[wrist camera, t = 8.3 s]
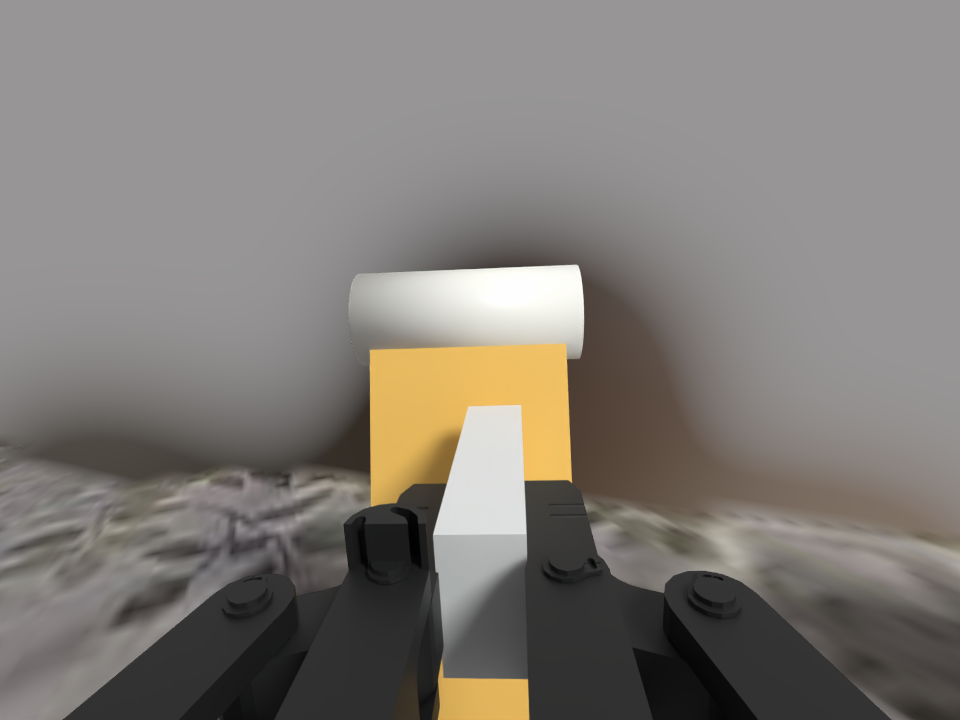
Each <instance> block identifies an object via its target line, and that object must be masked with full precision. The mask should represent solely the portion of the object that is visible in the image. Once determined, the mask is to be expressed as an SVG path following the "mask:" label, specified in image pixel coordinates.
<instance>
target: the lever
mask: <svg viewBox="0 0 960 720" xmlns="http://www.w3.org/2000/svg"><path fill="white" fill-rule="evenodd" d="M349 327H350V335H351V341H352V345H353V349H354V352H355V355H356V357H357V359H358V361H359V362H360V364H362V365H370V420H371V421H370V425H371V427H370V428H371V507H373V506H376V505H381V504H390V503H397V500H398V498H399V496H400V494H402V493H403V492H404V491H405V490H407V489H408V488H409V487H410V486H412V485H413V484H440V483H447V482H448V479H449V475H450V471H451V468H452V464H453V461H454V457H455V453H456V450H457V446H458V442H459V439H460V435H461V432H462V428H463V424H464V421H465V417H466V413H467V410H468V406H500V405H521V416H522V439H523V462H524V481H533V480H569V481H570V482H571V483H572V476H571V452H570V428H569V405H568V404H569V403H568V381H567V359H579V358H580V356H581V352H582V345H583V333H584V303H583V289H582V280H581V274H580V270H579V267H578V266H577V265H562V266H539V267H515V268H491V269H468V270H467V269H465V270H442V271H417V272H395V273H394V272H393V273H371V274H357V275H356V276H355V278H354V280H353V282H352V285H351V290H350V297H349ZM438 685H439V699H440V709H439V715H438V720H529V697H528V679H471V678H444V677H443V664H442V660H441V665H440V671H439V677H438Z"/></svg>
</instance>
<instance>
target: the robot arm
mask: <svg viewBox="0 0 960 720" xmlns="http://www.w3.org/2000/svg"><path fill="white" fill-rule="evenodd" d="M344 533H345V542H346V550H347V559H348V567H349V571H348V573H347V575H346V577H345V579H344V581H343V583H342V585H339V586H337V587H334V588H330V589H327V590H323V591H319V592H314V593H309V594H305V595H300V596H296V591H295V586H294V584H293V583H292V582H291V580H290V579H289V578H287V577H284V576H282V575H279V574H257V575H254V576H253V575H252V576H248V577H244V578H242V579H240V580H238V581H235V582H233V583H230V584H228V585H227V586H225V587H224V588H222V589H221V590H219V591H218V592H216V593H215V594H213V595H212V596H211V597H210V598H208V599H207V600H206V601H205V602H204V603H202V604H201V605H200V606H199V607H198V608H196V609H195V610H194V611H193V612H192V613H190V614H189V615H188V616H187V617H186V618H184V619H183V620H182V621H181V622H180V623H178V624H177V625H176V626H175V627H174V628H172V629H171V630H170V631H169V632H168V633H166V634H165V635H164V636H163V637H162V638H160V639H159V640H158V641H157V642H156V643H154V644H153V645H152V646H151V647H150V648H148V649H147V650H146V651H145V652H144V653H142V654H141V655H140V656H139V657H138V658H136V659H135V660H134V661H133V662H132V663H130V664H129V665H128V666H127V667H126V668H124V669H123V670H122V671H121V672H120V673H118V674H117V675H116V676H115V677H114V678H112V679H111V680H110V681H109V682H108V683H106V684H105V685H104V686H103V687H102V688H100V689H99V690H98V691H97V692H96V693H94V694H93V695H92V696H91V697H90V698H88V699H87V700H86V701H85V702H84V703H82V704H81V705H80V706H79V707H78V708H76V709H75V710H74V711H73V712H72V713H70V714H69V715H68V716H67V717H66V718H64V719H63V720H218V718H219V720H438V715H439V709H440V699H439V685H438V677H439V671H440V665H441V660H442V664H443V677H444V678H471V679H528V697H529V720H891V719H890V718H889V717H888V716H887V715H886V714H885V713H884V712H883V711H882V710H880V709H879V708H878V707H877V706H876V705H875V704H874V703H873V702H872V701H871V700H870V699H869V698H868V697H867V696H866V695H864V694H863V693H862V692H861V691H860V690H859V689H858V688H857V687H856V686H855V685H854V684H853V683H852V682H851V681H850V680H848V679H847V678H846V677H845V676H844V675H843V674H842V673H841V672H840V671H839V670H838V669H837V668H836V667H835V666H834V665H832V664H831V663H830V662H829V661H828V660H827V659H826V658H825V657H824V656H823V655H822V654H821V653H820V652H819V651H818V650H816V649H815V648H814V647H813V646H812V645H811V644H810V643H809V642H808V641H807V640H806V639H805V638H804V637H803V636H802V635H801V634H799V633H798V632H797V631H796V630H795V629H794V628H793V627H792V626H791V625H790V624H789V623H788V622H787V621H786V620H785V619H783V618H782V617H781V616H780V615H779V614H778V613H777V612H776V611H775V610H774V609H773V608H772V607H771V606H770V605H769V604H767V603H766V602H765V601H764V600H763V599H762V598H761V597H760V596H759V595H758V594H757V593H756V592H754V591H753V590H752V589H750V588H749V587H747V586H746V585H744V584H743V583H742V582H740V581H737V580H735V579H733V578H730V577H728V576H725V575H723V574H718V573H713V572H708V571H687V572H684V573H681V574H677V575H674V576H673V577H672V578H671V579H670V580H669V581H668V582H667V583H666V584H665V591H664V593H661V592H656V591H651V590H647V589H642V588H639V587H636V586H632V585H629V584H627V583H625V582H623V581H621V580H618V579H617V578H615V577H614V576H613V575H611V573H610V569H609V568H608V566H607V564H606V563H605V561H604V560H603V559H602V558H601V557H599V556H598V554H597V550H596V547H595V543H594V539H593V535H592V532H591V528H590V524H589V520H588V517H587V513H586V509H585V506H584V502H583V498H582V494H581V491H580V490H579V489H578V488H577V487H576V486H575V485H573V484H572V483H571V482H570V481H569V480H533V481H524V462H523V439H522V416H521V405H500V406H468V410H467V413H466V417H465V421H464V424H463V428H462V432H461V435H460V439H459V442H458V446H457V450H456V453H455V457H454V461H453V464H452V468H451V471H450V475H449V479H448V482H447V483H440V484H413V485H412V486H410V487H409V488H408V489H407V490H405V491H404V492H403V493H402V494H400V496H399V498H398V500H397V503H390V504H381V505H376V506H373V507H369V508H366V509H363V510H361V511H360V512H358V513H356V514H354V515H352V516H351V517H350V518H349V519H348V520H347V521H346V522H345V523H344Z"/></svg>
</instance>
